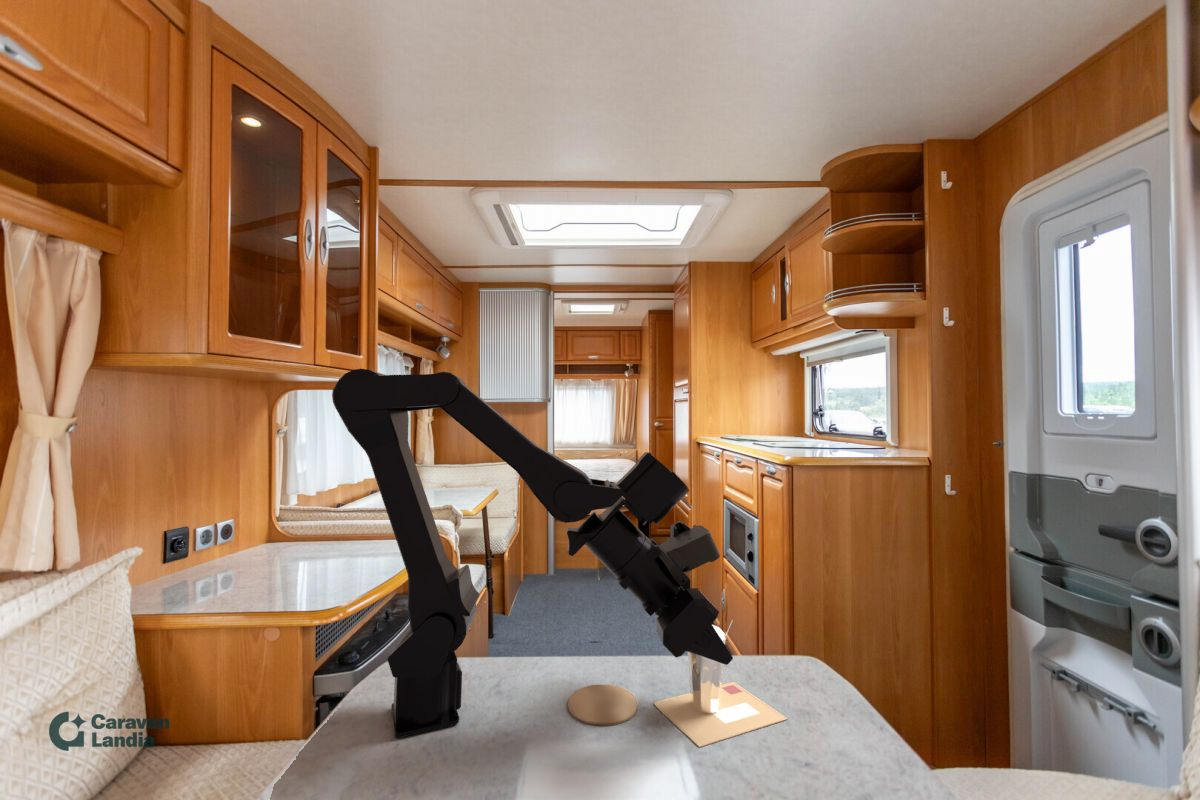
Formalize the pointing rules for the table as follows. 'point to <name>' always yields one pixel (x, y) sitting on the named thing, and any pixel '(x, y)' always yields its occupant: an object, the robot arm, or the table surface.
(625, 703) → the coaster
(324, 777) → the table surface
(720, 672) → the milkshake
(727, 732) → the envelope
